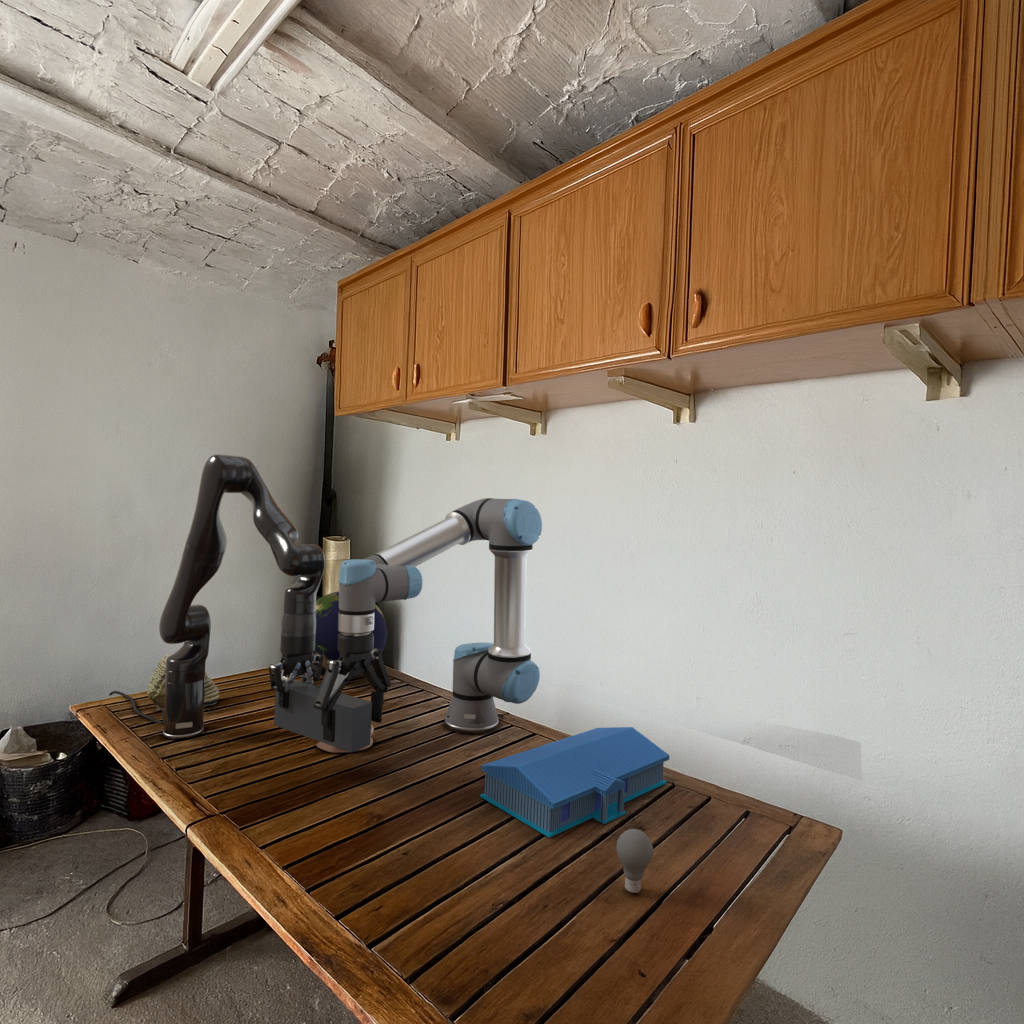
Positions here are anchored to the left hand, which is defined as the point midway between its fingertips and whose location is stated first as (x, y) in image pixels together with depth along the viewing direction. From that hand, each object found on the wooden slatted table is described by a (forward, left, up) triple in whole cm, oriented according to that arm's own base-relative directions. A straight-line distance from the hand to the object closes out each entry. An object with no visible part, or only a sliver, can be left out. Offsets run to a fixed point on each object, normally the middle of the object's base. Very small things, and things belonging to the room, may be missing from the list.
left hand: (295, 704), depth 145 cm
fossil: (-60, -6, -15) cm, 62 cm away
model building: (+49, +45, -15) cm, 68 cm away
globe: (-60, +45, -15) cm, 77 cm away
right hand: (+18, +5, -2) cm, 18 cm away
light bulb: (+78, +24, -15) cm, 83 cm away
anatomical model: (-6, +17, -15) cm, 24 cm away
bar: (+8, +2, -5) cm, 10 cm away
